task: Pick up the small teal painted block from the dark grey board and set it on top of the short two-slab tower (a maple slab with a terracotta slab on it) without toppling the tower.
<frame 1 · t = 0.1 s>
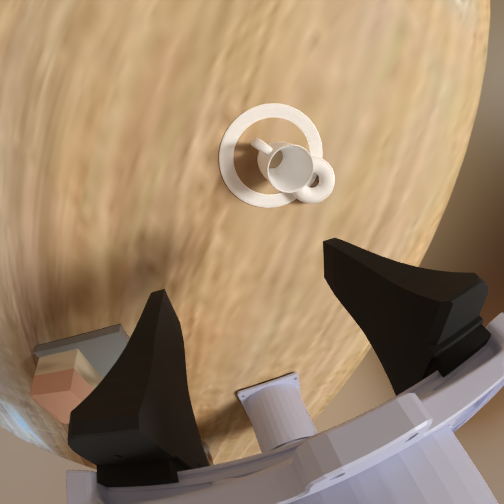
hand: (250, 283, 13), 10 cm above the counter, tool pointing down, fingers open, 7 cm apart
terracotta slab: (69, 388, 22), point 3 cm above the counter, touching maple slab
maple slab: (72, 369, 24), point 1 cm above the counter, touching slate board, terracotta slab
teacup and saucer: (267, 193, 22), on the counter
slate board: (107, 378, 27), on the counter
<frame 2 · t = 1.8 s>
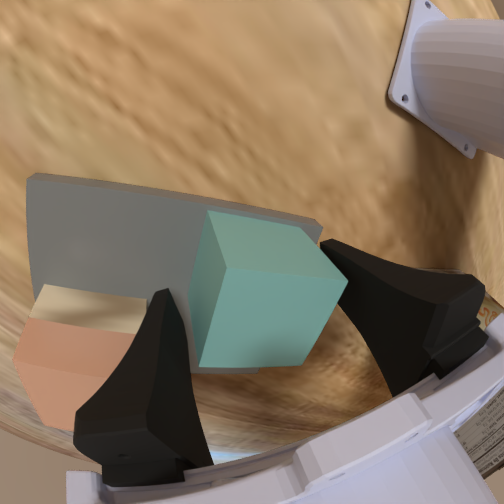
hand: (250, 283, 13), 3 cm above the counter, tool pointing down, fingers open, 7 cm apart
terracotta slab: (89, 366, 12), point 3 cm above the counter, touching gripper, maple slab
maple slab: (95, 331, 14), point 1 cm above the counter, touching slate board, terracotta slab
slate board: (160, 292, 15), on the counter
coffee box: (418, 296, 22), on the counter
teal block: (242, 262, 14), point 1 cm above the counter, touching slate board
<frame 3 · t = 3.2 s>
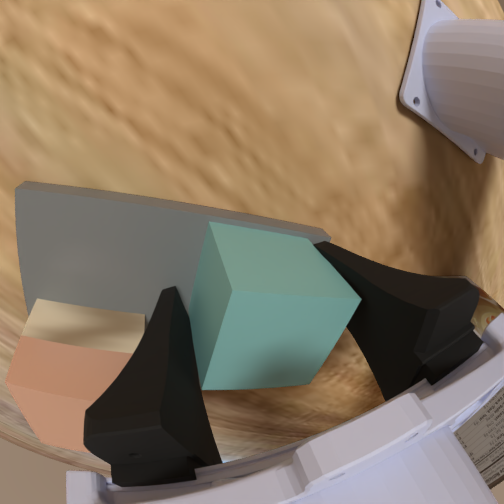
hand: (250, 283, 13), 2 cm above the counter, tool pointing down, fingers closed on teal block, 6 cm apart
terracotta slab: (86, 385, 11), point 3 cm above the counter, touching maple slab
maple slab: (91, 346, 13), point 1 cm above the counter, touching slate board, terracotta slab
slate board: (159, 306, 14), on the counter
coffee box: (424, 304, 21), on the counter
teal block: (246, 275, 13), point 1 cm above the counter, touching gripper, slate board
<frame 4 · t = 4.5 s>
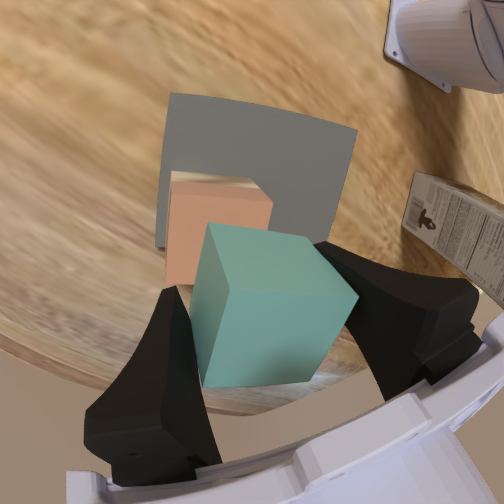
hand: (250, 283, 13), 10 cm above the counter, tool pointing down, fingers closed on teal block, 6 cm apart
terracotta slab: (210, 226, 18), point 3 cm above the counter, touching maple slab
maple slab: (206, 211, 20), point 1 cm above the counter, touching slate board, terracotta slab
slate board: (255, 179, 21), on the counter
coffee box: (431, 201, 27), on the counter
teal block: (246, 274, 13), point 10 cm above the counter, touching gripper
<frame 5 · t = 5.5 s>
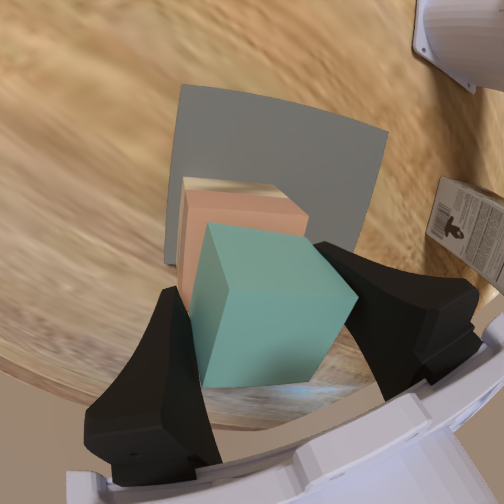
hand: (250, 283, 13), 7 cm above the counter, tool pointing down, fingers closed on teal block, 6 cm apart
terracotta slab: (231, 242, 16), point 3 cm above the counter, touching maple slab
maple slab: (223, 223, 18), point 1 cm above the counter, touching slate board, terracotta slab
slate board: (278, 185, 19), on the counter
coffee box: (454, 207, 25), on the counter
teal block: (245, 274, 13), point 7 cm above the counter, touching gripper
when the fingers open (7 cm above the counter, at t = 6.2 s): teal block stays where it is, resting on terracotta slab.
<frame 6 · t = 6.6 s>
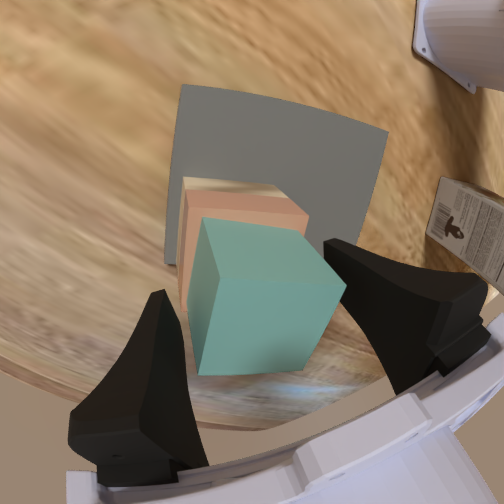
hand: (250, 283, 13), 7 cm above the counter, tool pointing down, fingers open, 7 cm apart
terracotta slab: (231, 241, 16), point 3 cm above the counter, touching maple slab, teal block
maple slab: (223, 223, 18), point 1 cm above the counter, touching slate board, terracotta slab
slate board: (278, 185, 19), on the counter
coffee box: (454, 207, 25), on the counter
teal block: (240, 267, 14), point 6 cm above the counter, touching terracotta slab
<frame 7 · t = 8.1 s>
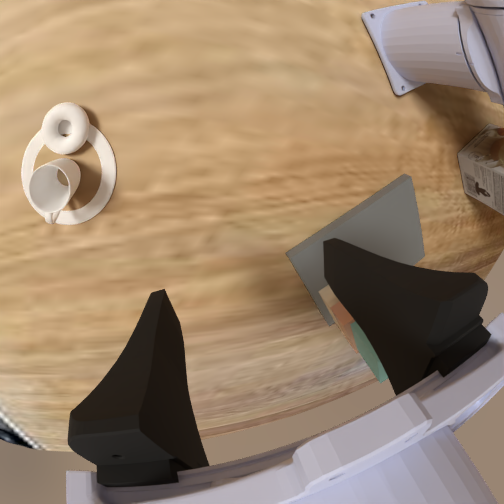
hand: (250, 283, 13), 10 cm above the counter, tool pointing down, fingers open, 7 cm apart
terracotta slab: (361, 307, 26), point 3 cm above the counter, touching maple slab, teal block
maple slab: (349, 292, 29), point 1 cm above the counter, touching slate board, terracotta slab
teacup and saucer: (103, 153, 18), on the counter
slate board: (365, 252, 28), on the counter
coffee box: (476, 156, 26), on the counter
teal block: (374, 324, 24), point 6 cm above the counter, touching terracotta slab
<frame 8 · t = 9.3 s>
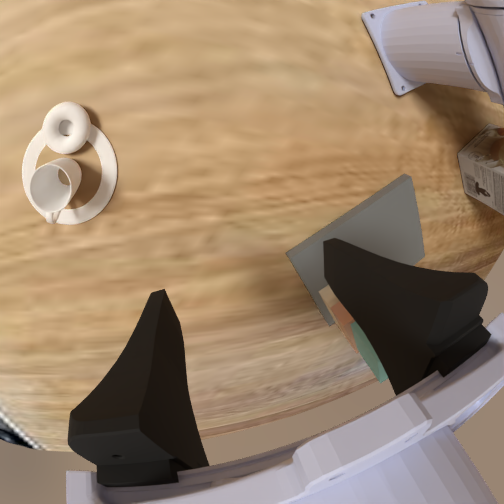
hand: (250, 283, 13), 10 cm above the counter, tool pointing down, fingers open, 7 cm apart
terracotta slab: (361, 307, 26), point 3 cm above the counter, touching maple slab, teal block
maple slab: (349, 292, 29), point 1 cm above the counter, touching slate board, terracotta slab
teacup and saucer: (104, 152, 18), on the counter
slate board: (365, 252, 28), on the counter
coffee box: (476, 156, 26), on the counter
teal block: (374, 324, 24), point 6 cm above the counter, touching terracotta slab
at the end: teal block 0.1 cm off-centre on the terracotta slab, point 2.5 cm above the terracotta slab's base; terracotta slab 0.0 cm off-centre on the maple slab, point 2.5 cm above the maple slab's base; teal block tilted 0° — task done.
